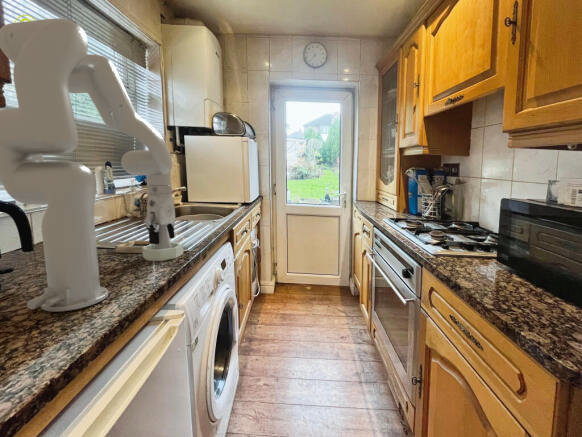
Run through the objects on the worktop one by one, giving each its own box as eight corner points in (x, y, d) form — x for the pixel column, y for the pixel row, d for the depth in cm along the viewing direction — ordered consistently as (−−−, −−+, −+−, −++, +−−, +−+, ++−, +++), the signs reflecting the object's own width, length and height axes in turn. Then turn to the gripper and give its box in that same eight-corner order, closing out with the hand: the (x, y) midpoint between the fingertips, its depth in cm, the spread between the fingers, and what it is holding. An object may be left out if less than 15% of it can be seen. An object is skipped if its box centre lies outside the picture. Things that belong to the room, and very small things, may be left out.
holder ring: (171, 261, 96) (170, 250, 96) (136, 260, 97) (135, 249, 97) (187, 252, 108) (187, 242, 107) (156, 251, 109) (156, 242, 109)
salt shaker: (165, 258, 99) (163, 219, 97) (150, 257, 100) (148, 219, 99) (175, 254, 105) (173, 217, 103) (161, 253, 106) (159, 217, 104)
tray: (144, 254, 105) (143, 247, 105) (115, 253, 106) (114, 246, 106) (161, 247, 116) (160, 241, 115) (134, 246, 117) (134, 240, 117)
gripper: (155, 191, 91) (159, 246, 93) (182, 189, 108) (184, 236, 110) (132, 191, 92) (136, 246, 94) (162, 189, 109) (165, 235, 111)
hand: (162, 240), depth 102 cm, fingers open, 9 cm apart
